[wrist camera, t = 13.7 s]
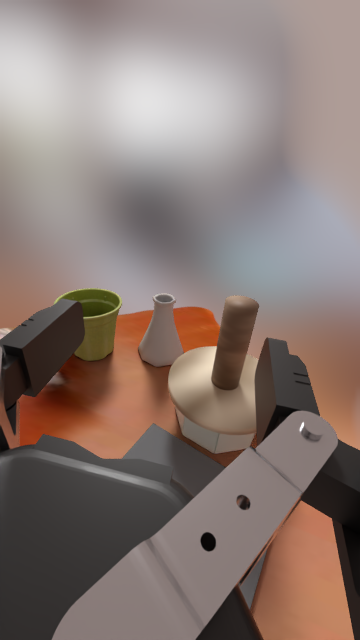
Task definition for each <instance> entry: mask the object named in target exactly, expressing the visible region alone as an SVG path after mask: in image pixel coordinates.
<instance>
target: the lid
mask: <svg viewBox="0 0 360 640" xmlns="http://www.w3.org/2000/svg"><path fill="white" fill-rule="evenodd" d="M258 308H259V304H258V303H257V302H256V301H255V300H253V299H251V298H248V297H244V296H230V297H228V298H226V300H225V306H224V311H223V317H222V322H221V327H220V333H219V338H218V343H217V347H215V346H213V347H201V348H196V349H193V350H190V351H188V352H186V353H184V354H182V355H181V356H180V357H178V358H177V359H176V360H175V361H174V363H173V364H172V366H171V368H170V371H169V377H168V390H169V394H170V397H171V399H172V401H173V403H174V405H175V406H176V407H177V409H178V410H179V411H180V412H181V413H182V414H183V415H184V416H185V417H186V418H188V419H189V420H190V421H192V422H193V423H195V424H196V425H198V426H200V427H202V428H205V429H207V430H210V431H213V432H216V433H220V434H226V435H247V434H252V433H256V432H257V430H256V406H255V383H254V379H255V371H256V367H257V364H258V359H256V358H255V357H253V356H251V355H248V354H247V351H248V347H249V343H250V339H251V335H252V331H253V327H254V324H255V320H256V315H257V312H258Z"/></svg>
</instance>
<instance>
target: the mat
mask: <svg viewBox="0 0 360 640" xmlns="http://www.w3.org/2000/svg"><path fill="white" fill-rule="evenodd" d="M122 459H143V460H146V461H150V462H154V463H158V464H162V465H166V466H170V467H174V468H173V475H172V479H174V480H175V481H177V482H179V483H180V484H181V485H183V486H184V487H185V488H186V489H187V490H188V491H189V492H190V493H191V494H192V495H193V496H194V497H196V496H197V495H198V494H199V493H200V492H201V491H202V490H203V489H204V488H205V487H206V486H207V485H208V484H209V483H210V482H211V481H213V480H214V479H215V478H216V477H217V476H218V475H219V474H220V473H221V472H222V471H223V470H224V469H225V468H226V467H224V466H222V465H221V464H219V463H217V462H216V461H214V460H213V459H211V458H209V457H208V456H206V455H204V454H203V453H201V452H200V451H198V450H196V449H195V448H193V447H191V446H190V445H188V444H186V443H185V442H183V441H182V440H180V439H178V438H177V437H175V436H173V435H172V434H170V433H169V432H167V431H165V430H164V429H162V428H160V427H159V426H157V425H156V424H154V423H153V424H152V425H151V426H150V428H149V429H148V430H147V431H146V432H145V433H144V434H143V435H142V437H141V438H140V439H139V440H138V441H137V442H136V443H135V444H134V446H133V447H132V448H131V449H130V450H129V451H128V452H127V453H126V454H125V456H124V457H123V458H122ZM266 552H267V549H266V551H265V552H264V554H263V555H262V557H261V558H260V560H259V561H258V562H257V564H256V565H255V567H254V568H253V570H252V571H251V572H250V574H249V575H248V577H247V578H246V579H245V581H244V582H243V584H242V585H241V586H240V590H241V592H242V594H243V596H244V598H245V601H246V603H247V605H248V607H249V609H250V608H251V604H252V601H253V597H254V594H255V590H256V587H257V583H258V580H259V576H260V573H261V569H262V566H263V562H264V559H265V555H266Z"/></svg>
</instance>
